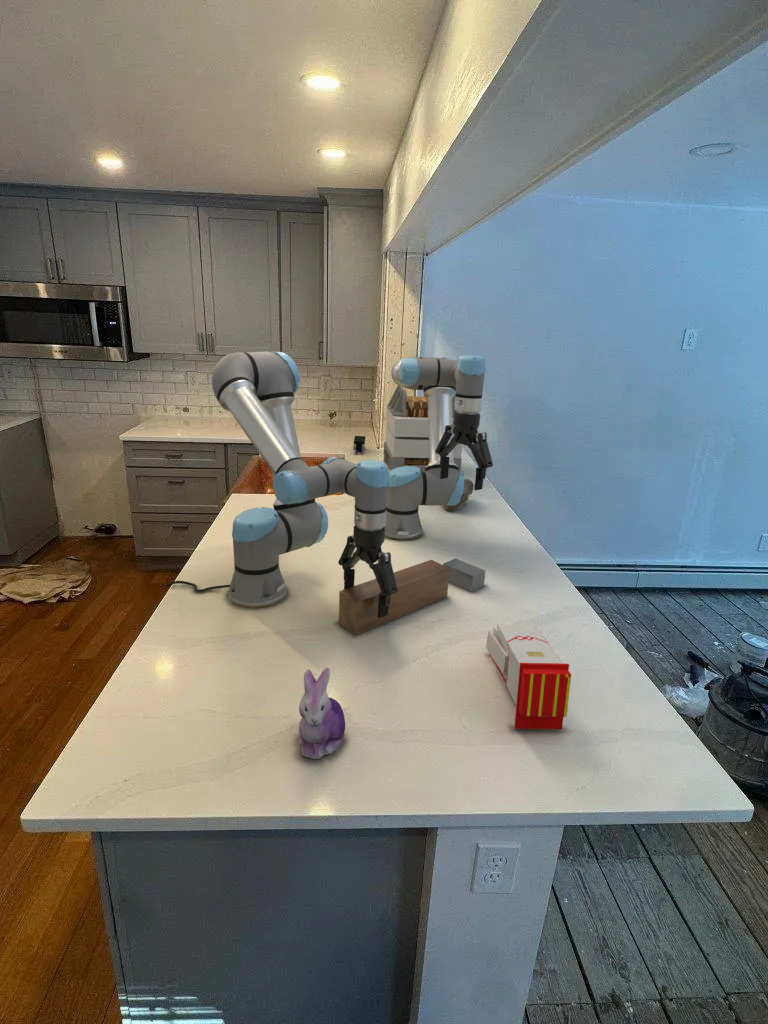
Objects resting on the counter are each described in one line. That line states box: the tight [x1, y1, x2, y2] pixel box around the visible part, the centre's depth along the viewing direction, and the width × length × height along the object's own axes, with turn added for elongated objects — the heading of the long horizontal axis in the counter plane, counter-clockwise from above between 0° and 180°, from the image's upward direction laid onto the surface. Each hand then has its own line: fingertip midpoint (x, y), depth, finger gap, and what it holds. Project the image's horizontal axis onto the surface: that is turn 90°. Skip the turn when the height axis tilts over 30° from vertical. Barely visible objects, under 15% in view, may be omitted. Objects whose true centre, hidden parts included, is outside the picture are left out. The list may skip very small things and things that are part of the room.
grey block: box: [442, 558, 486, 593], centre depth 165 cm, size 11×6×5 cm, turn 45°
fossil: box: [442, 478, 475, 512], centre depth 232 cm, size 22×10×15 cm
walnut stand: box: [338, 559, 450, 636], centre depth 148 cm, size 7×32×9 cm, turn 131°
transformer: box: [383, 385, 463, 473], centre depth 268 cm, size 34×33×41 cm
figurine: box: [298, 667, 346, 760], centre depth 100 cm, size 9×10×15 cm
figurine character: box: [352, 435, 367, 455], centre depth 309 cm, size 7×8×15 cm
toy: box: [485, 623, 572, 730], centre depth 120 cm, size 12×13×30 cm
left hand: (365, 604), depth 142 cm, fingers open, 13 cm apart
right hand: (460, 483), depth 168 cm, fingers open, 13 cm apart
